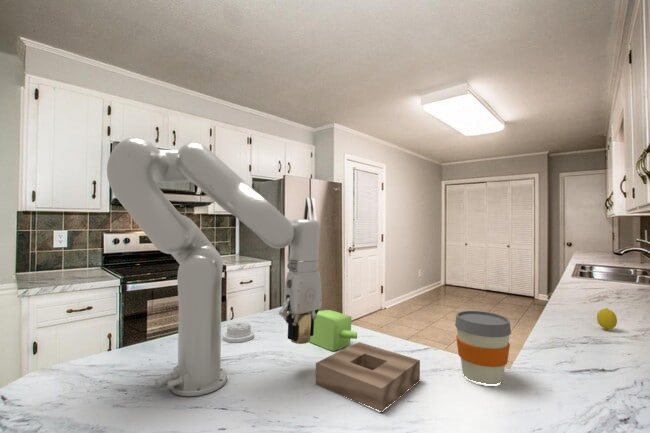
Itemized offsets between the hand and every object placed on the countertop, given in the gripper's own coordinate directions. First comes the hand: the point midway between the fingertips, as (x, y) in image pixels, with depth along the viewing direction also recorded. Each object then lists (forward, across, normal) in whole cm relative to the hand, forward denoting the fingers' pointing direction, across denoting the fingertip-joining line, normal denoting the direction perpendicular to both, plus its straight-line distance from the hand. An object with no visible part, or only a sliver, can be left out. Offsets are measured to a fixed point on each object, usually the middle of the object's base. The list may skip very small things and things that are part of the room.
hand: (300, 336), depth 84 cm
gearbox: (+9, +21, +5) cm, 23 cm away
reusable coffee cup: (+8, +28, -37) cm, 47 cm away
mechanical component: (+10, +4, +32) cm, 34 cm away
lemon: (+5, +97, -61) cm, 114 cm away
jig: (+8, +7, -17) cm, 20 cm away
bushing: (+1, 0, 0) cm, 1 cm away
